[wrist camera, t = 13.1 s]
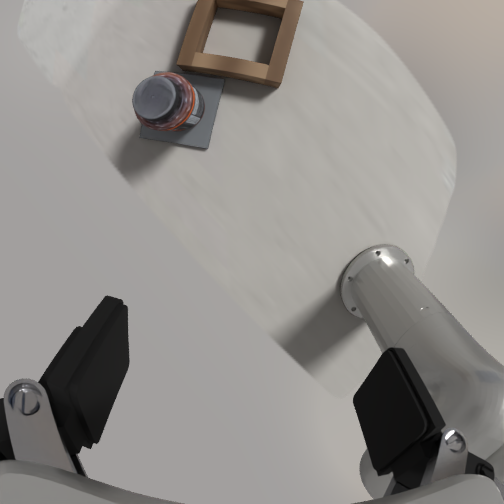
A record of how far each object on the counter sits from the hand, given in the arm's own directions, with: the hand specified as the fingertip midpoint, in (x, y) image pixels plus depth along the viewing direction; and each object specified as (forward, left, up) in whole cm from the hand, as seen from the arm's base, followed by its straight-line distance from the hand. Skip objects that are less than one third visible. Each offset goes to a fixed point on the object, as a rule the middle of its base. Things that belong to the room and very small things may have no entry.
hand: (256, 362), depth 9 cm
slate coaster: (+11, -9, -28) cm, 32 cm away
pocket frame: (+6, -20, -28) cm, 35 cm away
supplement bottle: (+11, -9, -28) cm, 31 cm away
